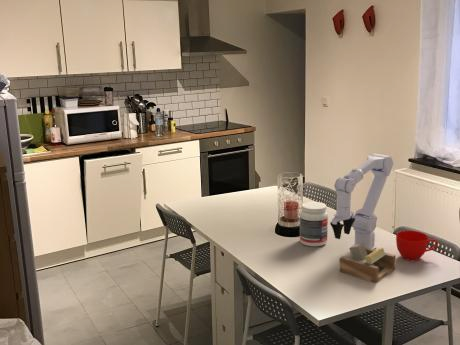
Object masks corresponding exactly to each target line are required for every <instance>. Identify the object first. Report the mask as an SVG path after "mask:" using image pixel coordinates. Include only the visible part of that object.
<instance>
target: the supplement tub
mask: <svg viewBox="0 0 460 345" xmlns="http://www.w3.org/2000/svg"><path fill="white" fill-rule="evenodd" d="M328 221H329V214H328V212H327V205H326V204H325V203H324V202H319V201H308V202H304V203H302V204H301V211H300V212H299V241H300V243H301V244H302V245H305V246H308V247H322V246H324V245H325V244H327V242H328V227H329V226H328V225H329V222H328Z"/></svg>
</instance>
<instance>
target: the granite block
mask: <svg viewBox="0 0 460 345" xmlns="http://www.w3.org/2000/svg"><path fill="white" fill-rule="evenodd" d="M348 249H349V251H350V255H351V259H353V260H357V261H363V260H364V259H365V257H366V256H367V252H366V249H365V246H364V244H363V243H362V244H356V245H354V244H353V245H352V246H350V247H349V248H348Z"/></svg>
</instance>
